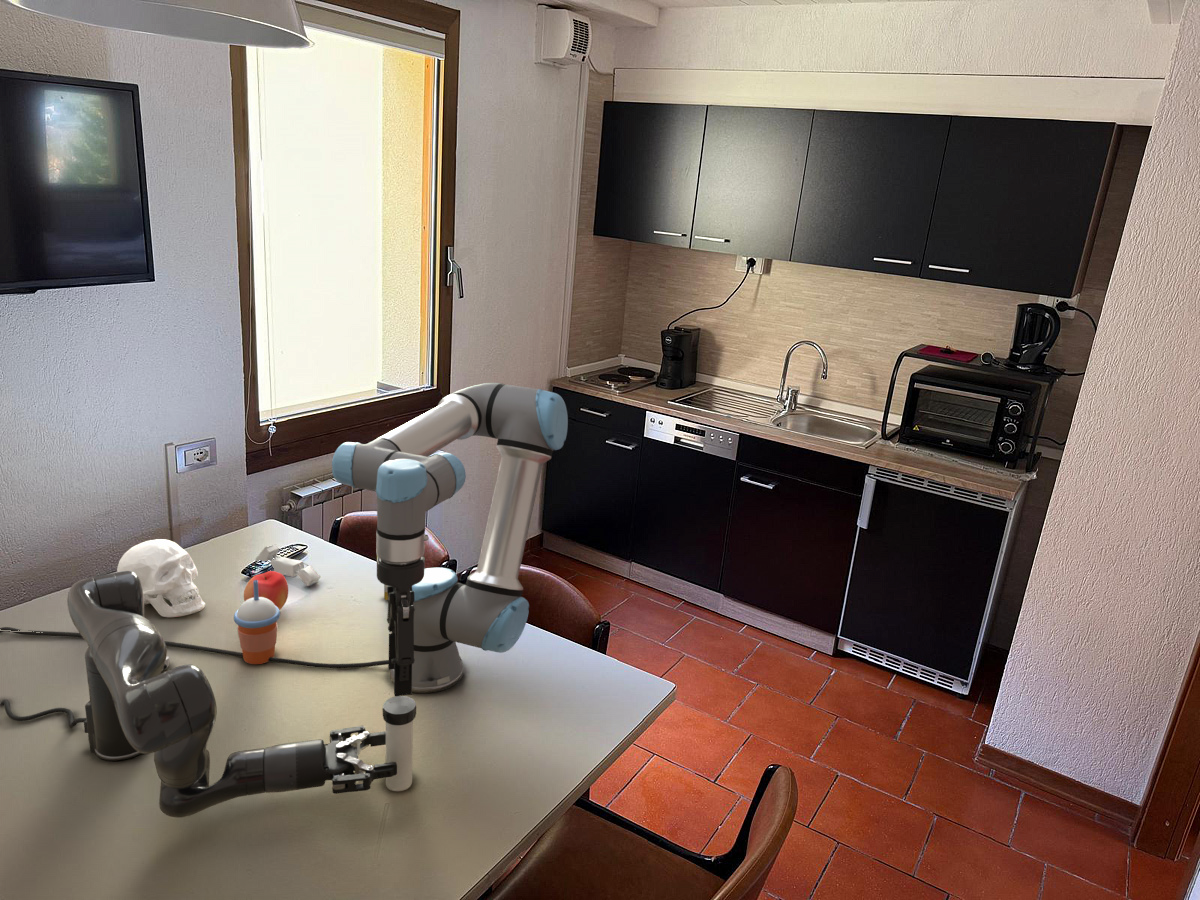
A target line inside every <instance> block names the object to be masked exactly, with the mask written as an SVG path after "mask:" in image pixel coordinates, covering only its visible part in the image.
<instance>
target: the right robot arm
mask: <svg viewBox="0 0 1200 900" xmlns="http://www.w3.org/2000/svg"><path fill="white" fill-rule="evenodd" d="M568 422H569V417H568V409H567V405H566V403H565V401H564V399H563V397H562V396H561V395H560V394H558V393H556V392H553V391H548V390H545V389H541V388H533V387H525V386H518V385H512V384H505V383H502V382H501V383H500V382H485V383H479V384H475V385H471V386H467V387H464V388H461V389H459V390H456V391H454V392H452V393H450V394H448V395H446V396H444V397H442V399H440V401H439V402H438V404H437V406H436V407H434V408H432V409H430V410H428V411H426V412H425V413H424V412H423V414H420V415H419V416H416V417H415V418H413V419H411V420H409V421H408V422H405V423H404V424H402V425H400V426H398V427H396V428H394V429H392V430H390V431H388V432H387V433H384V434H383V435H381V436H379V437H376V439H374V440H372V441H369V442H368V443H361V442H360V441H359V442H358V441H357V442H356V441H355V442H352V441H346V442H343V443H341V444H340V445H339V446H338V447H337V448H336V450H335V451H334V453H333V455H332V456H333V457H332V460H331V467H332V468H331V473H332V476H333V478H334V480H335V481H336V482H337V483H339V484H341V485H344V486H348V487H352V488H353V489H361V490H366V491H371V492H375V495H376V516H377V517H376V522H377V523H376V525H377V526H376V531H375V532H376V533H375V535H376V536H375V538H376V541H375V543H376V544H375V545H376V546H375V548H376V549H375V550H376V552H375V553H376V579H377V581H378V582H379V583H380V584H383V586H384V585H387V595H388V600H387V618H386V622H387V624H388V627H387V630H388V632H389V633H388V659H383V660H376V661H368V662H354V663H353V662H352V663H323V662H312V661H304V660H296V659H288V658H282V657H275V656H274V657H270V658H269V659H268V662H272V663H279V664H285V665H295V666H302V667H309V668H319V669H356V668H357V669H359V668H370V667H371V668H372V667H377V666H385V665H387V666H388V670H389V679H390V681H391V682H392V683H393V695H394V697H395V696H410V695H413V694H412V693H416V694H430V693H431V694H432V693H438V692H441V691H445V690H447V689H450V688H451V687H453V686H455V685H456V684H457V683H458V682H459V681H460V680H461V679H462V676H463V672H464V664H463V660H462V657H461V656H460V653H459V649H458V646H457V643H458V644H462V645H467V646H470V647H473V648H478V649H481V650H482V651H485V652H486V651H490V652H494V653H499V654H503V653H506V652H509V651H510V650H511V649H512V648H513V647H514V646H515V645H516V644H517V642H518V641H519V639H520V637H521V635H522V634H523V631H524V629H525V627H526V625H527V621H528V617H529V612H530V611H529V609H530V604H529V601H528V600H527V599H526V598H525V597H523V592H524V586H523V585H522V584H521V581H520V580H519V575H520V571H521V565H522V561H523V557H524V552H525V547H526V544H527V543H526V542H527V539H528V533H529V529H530V524H531V520H532V514H533V511H534V505H535V500H536V496H537V493H538V492H537V491H538V486H539V482H540V477H541V474H542V468H543V465H544V464H546V463H547V462H548V461H550V460H551V459H552V457H553V456H552V455H553V452H554V451H557V450H560V449H562V448H563V447H564V444H565V442H566V439H567V435H568V429H569V428H568V425H569V423H568ZM473 436H475V437H485V438H492V439H495V440H497V442H496V445H495V446H496V449H497V450H498V452H499V453H500V456H501V458H500V462H499V467H498V472H497V475H496V476H497V477H496V480H495V485H494V490H493V494H492V498H491V503H490V508H489V512H488V518H487V522H486V527H485V530H484V535H483V541H482V544H481V549H480V554H479V557H478V563H477V568H476V570H475V571H474V572H472V573H470V574H469V575H468V576H467V579H466V582H465V583H461V582H458V580H459V579H458V575H457V573H456V572H455V571H454V570H453V569H450V568H448V567H447V568H446V567H427V568H426V567H425V566H426V557H425V553H426V551H425V550H426V547H425V546H426V545H425V544H426V543H425V542H427V541H429V538H430V537H429V535H428V534H426V516H427V515H426V514H427V512H428V511H430V510H432V509H433V508H435V507H436V506H438V505H440V504H441V503H443V502H445V501H447V500H449V499H451V498H453V496H454V495H455V494H457V493H458V492H459V491H460V490H461V489H462V488H463V487H464V485H465V482H466V478H467V475H466V468H465V466H464V463H463V462H462V461H461V460H460V458H459V457H458V456H456V455H455V454H453V453H450V452H440V453H437V452H438V451H440V450H442V449H443V448H445V447H446V446H448V445H450V444H451V443H453V442H455V441H456V440H458V441H459V440H461V441H462V440H467V439H469V438H471V437H473ZM377 556H378V558H377ZM0 629H1V630H11V631H18V630H19V631H20V630H21V629H19V628H16V627H10V626H3V627H0ZM31 631H32V632H12V633H14V634H18V635H23V636H43V637H44V636H45V637H67V638H83V637H82V635H81V634H80V633H79V632H74V631H73V632H72V631H71V632H69V631H50V630H31ZM33 631H34V632H33ZM3 632H7V633H8V632H9V633H11V632H10V631H0V634H1V633H3ZM36 632H40V633H36ZM41 632H43V633H41ZM164 642H165V644H166V647H174V648H180V649H186V650H193V651H201V652H206V653H213V654H218V655H219V654H220V655H225V656H232V657H239V658H243V652H242V651H241V652H240V651H234V650H228V649H220V648H215V647H209V646H203V645H202V646H201V645H195V644H189V643H183V642H174V641H170V640H169V641H167V640H164Z"/></svg>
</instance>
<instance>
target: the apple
mask: <svg viewBox="0 0 1200 900" xmlns="http://www.w3.org/2000/svg"><path fill="white" fill-rule="evenodd" d="M254 580H258V594H259V597H264V598H267V599H269V600H270V601H272V602H273V603H274V605H275V606H277V607H278V608H279V610H280V611H281V610H282V609H283V607H284V606H285V605H286V603H287V600H288V597H289V584H288V581H287V579H286V577H285V575H282V574H281V573H278V572H275V571H268V570H267V571H266V572H264V573H259V574H255V575H254V576H253V577H251V578H250V579H249V580H248V582H247V583H246V585H245V587H244V590H243V602H245V601H246V600H248V599H250V598H253V597H254V585H253V581H254Z"/></svg>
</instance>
